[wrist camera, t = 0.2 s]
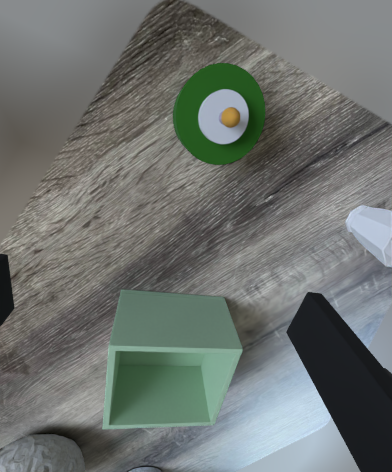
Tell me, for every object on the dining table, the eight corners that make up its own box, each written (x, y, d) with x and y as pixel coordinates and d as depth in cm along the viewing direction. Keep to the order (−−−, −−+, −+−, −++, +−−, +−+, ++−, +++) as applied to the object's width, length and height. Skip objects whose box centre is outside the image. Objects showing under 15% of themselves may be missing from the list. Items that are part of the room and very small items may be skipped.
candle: (204, 171, 30) (224, 194, 21) (156, 112, 26) (155, 108, 17) (260, 123, 28) (307, 125, 19) (216, 54, 25) (249, 16, 16)
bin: (121, 289, 35) (108, 345, 26) (224, 296, 38) (243, 349, 30) (114, 363, 41) (102, 429, 32) (203, 365, 44) (214, 425, 36)
